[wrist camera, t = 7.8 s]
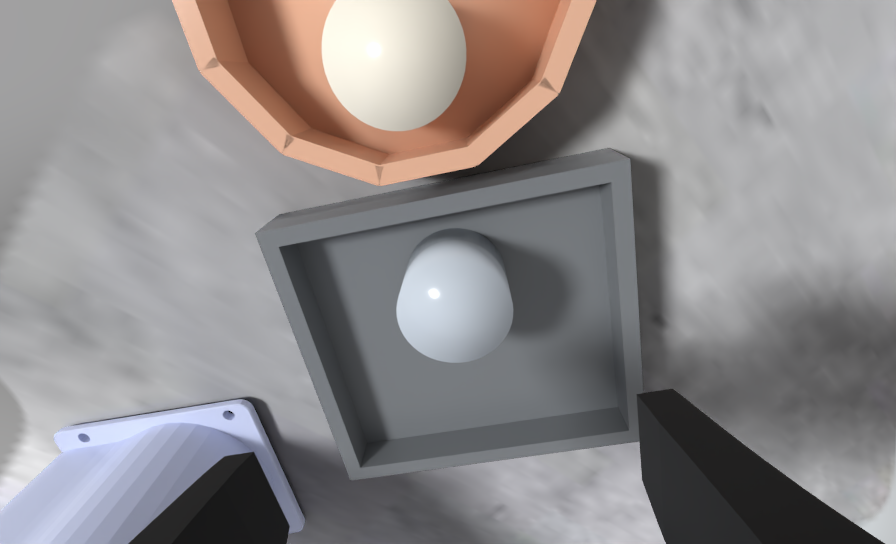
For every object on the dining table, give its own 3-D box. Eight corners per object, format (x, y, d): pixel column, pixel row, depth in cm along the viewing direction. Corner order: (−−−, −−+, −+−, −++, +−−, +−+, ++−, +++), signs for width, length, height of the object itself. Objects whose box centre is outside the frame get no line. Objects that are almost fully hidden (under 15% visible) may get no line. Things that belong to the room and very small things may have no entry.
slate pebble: (419, 324, 18) (411, 370, 15) (396, 238, 17) (383, 270, 14) (512, 309, 18) (521, 353, 15) (496, 219, 16) (503, 249, 13)
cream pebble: (367, 131, 15) (345, 144, 12) (333, 8, 14) (301, -8, 11) (475, 107, 15) (478, 115, 12) (452, -22, 13) (449, -47, 11)
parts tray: (361, 442, 21) (350, 480, 19) (279, 214, 17) (255, 233, 15) (627, 403, 20) (645, 440, 18) (608, 147, 16) (630, 158, 14)
